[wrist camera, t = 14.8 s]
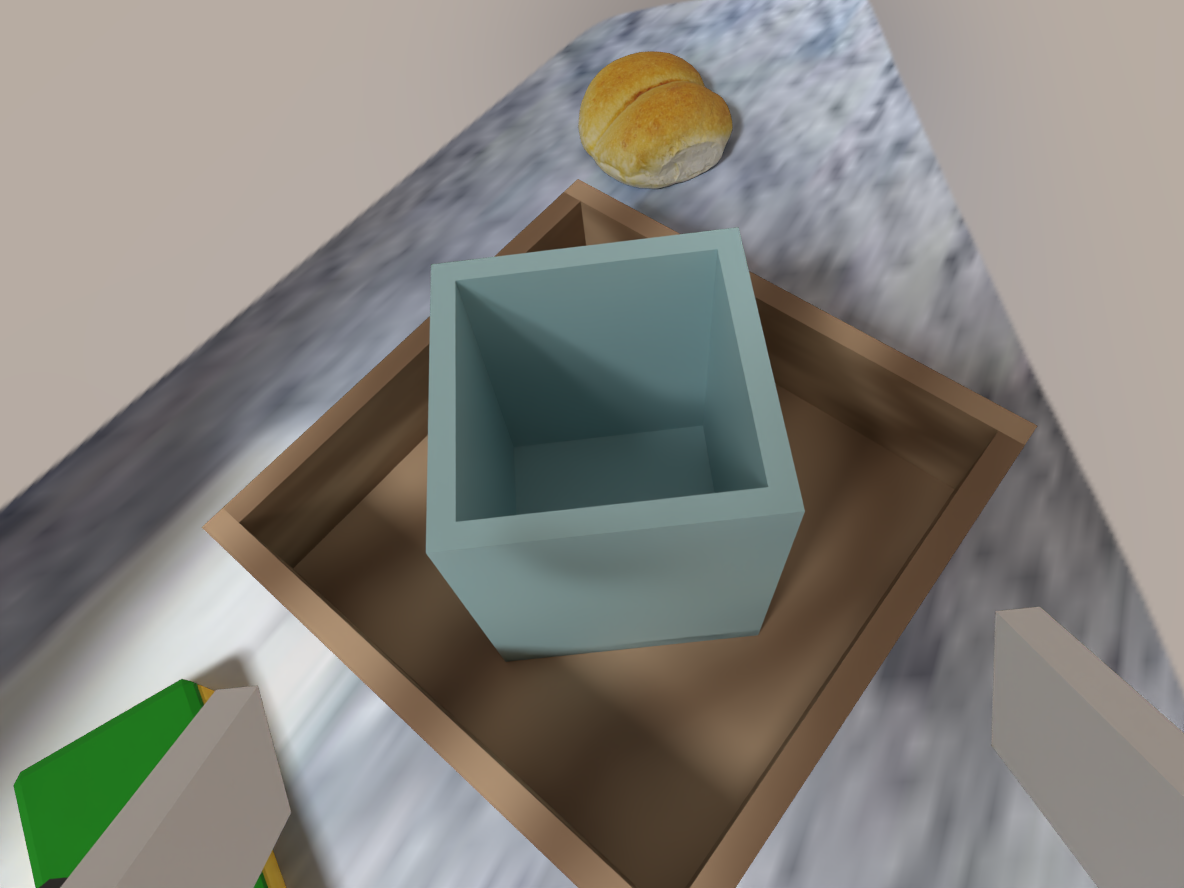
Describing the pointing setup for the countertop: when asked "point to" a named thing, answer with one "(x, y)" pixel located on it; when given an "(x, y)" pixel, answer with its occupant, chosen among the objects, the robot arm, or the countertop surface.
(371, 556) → the big walnut crate
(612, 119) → the bread roll
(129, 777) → the dish sponge
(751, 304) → the small teal crate
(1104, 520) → the countertop surface
